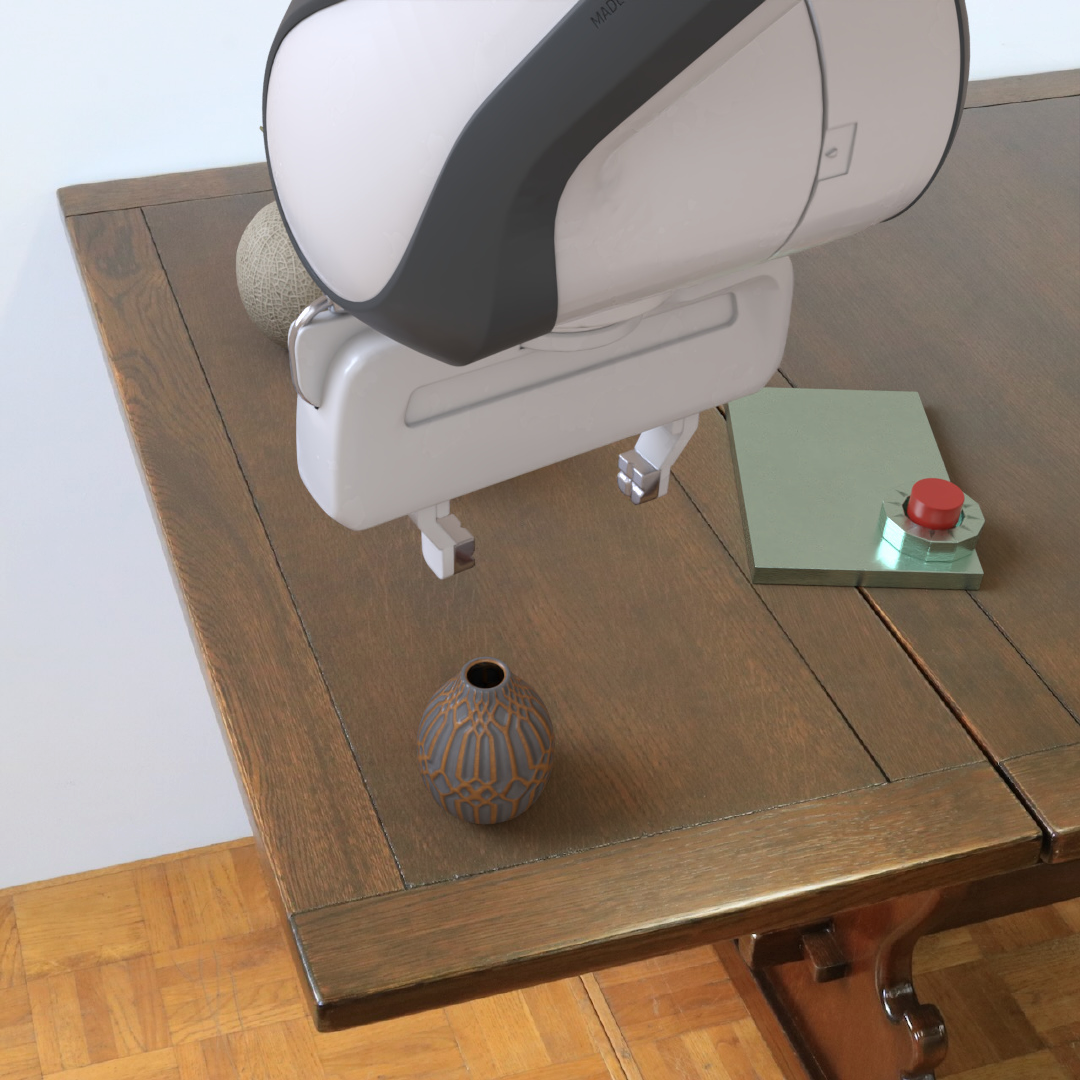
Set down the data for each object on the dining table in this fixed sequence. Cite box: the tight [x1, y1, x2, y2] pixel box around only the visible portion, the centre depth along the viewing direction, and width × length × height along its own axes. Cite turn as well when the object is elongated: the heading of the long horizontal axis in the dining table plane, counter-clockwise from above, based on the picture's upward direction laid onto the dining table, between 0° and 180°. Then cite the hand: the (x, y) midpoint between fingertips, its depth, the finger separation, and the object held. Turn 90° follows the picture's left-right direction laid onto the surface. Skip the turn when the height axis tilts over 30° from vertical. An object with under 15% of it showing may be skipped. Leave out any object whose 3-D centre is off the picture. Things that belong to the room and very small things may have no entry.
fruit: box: [235, 125, 328, 350], centre depth 97 cm, size 10×12×15 cm
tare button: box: [907, 478, 965, 530], centre depth 82 cm, size 3×3×2 cm
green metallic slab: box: [723, 386, 986, 591], centre depth 88 cm, size 20×14×3 cm
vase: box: [416, 656, 556, 825], centre depth 66 cm, size 7×7×9 cm
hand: (548, 528), depth 55 cm, fingers open, 8 cm apart
